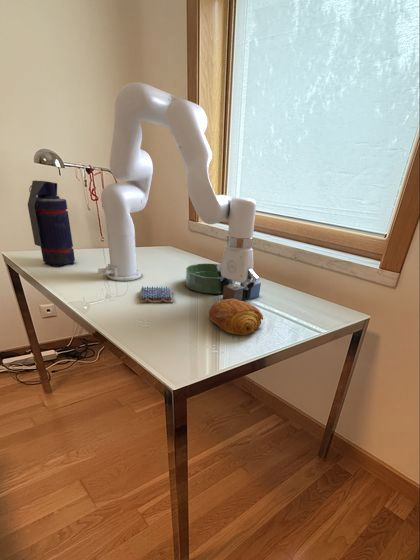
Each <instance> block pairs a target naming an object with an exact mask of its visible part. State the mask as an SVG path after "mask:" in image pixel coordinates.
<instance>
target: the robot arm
mask: <svg viewBox="0 0 420 560" xmlns="http://www.w3.org/2000/svg"><path fill="white" fill-rule="evenodd" d="M113 122H114V125H113V132H112V140H111V148H110V155H109V157H110V158H109V172H110V174H111V175H112V176H113V177H114V178H115V179H117V180H120V181H126V182H113V183H110V184H107V185H105V186H104V188H103V189H102V190H101V193H100V202H101V205H102V210H103V213H104V217H105V223H106V233H107V244H108V255H109V263H107V266H106V267H102V268H98V269H97V272H98V274H99V275H104V274H105V275H106V276H107V278H108V279H110V280H114V281H119V282H120V281H121V282H123V281H124V282H125V281H134V280H137V279H140V278H141V276H142V272H141V271H139V270H138V269H137V251H136V250H137V249H136V232H135V225H134V221H133V218H132V216H131V214H132V213H139V212H141V211H142V210H144V209H145V207H146V205H147V203H148V199H149V195H150V190H151V184H152V180H153V174H154V164H153V160H152V157H151V156H150V154H149V153H148V152H147V151H145V150H144V149H142V148H141V147H142V142H143V141H142V140H143V130H142V124H141V122H145V123H150V124H154V125H157V126H161V127H164V128H167V129H168V130H169V132H170V134H171V136H172V139H173V141H174V143H175V147H176V148H177V150H178V154H179V155H180V158H181V160H182V162H183V165H184V167H185V183H186V190H187V194H188V197H189V199H190V202H191V204H192V206H193V208H194V211H195V213H196V214H197V216H198V218H199V219H200V220H201V221H202V222H203V223H205V224H207V225H216V224H220V223H223V222H228V231H227V236H226V237H225V239H226V241H227V242H226V243H227V244H225V246H224V248H223V252H222V257H221V263H219V265H217V270H218V274H219V276H220V281H221V293H220V294H223V287H224V286H225V285H229V280H227V279H230V280H233V281H236V283H239V284H240V283H243V285H244V288H245V289H243V295H242V301H244V302H247V301H250V300H251V299H250V294H251V288H253V287H254V286H255V285H256V283H257V282H259V281H260V277H259V276H258V275H257V274H256V272H255V271H254V249H253V248H252V247H253V239H254V229H255V221H256V220H255V219H256V212H257V201H256V200H255V199H253V198H249V197H235V196H230V195H227V194H216V193H215V190H214V187H213V186H212V183H211V180H210V175H209V166H210V162H211V161H212V158H213V152H212V149H211V147H210V145H209V142H208V141H207V137H206V135H205V133H206V131H207V128H208V117H207V114H206V111H205V110H204V109H203V108H202V106H200V105H199V104H198V103H195V102H193V101H190V100H187V99H186V98H180V97H178V96H176V95H173V94H172V93H169V92H166V91H164V90H162V89H160V88H156V87H155V86H153V85H150V84H147V83H144V82H138V81H136V82H135V81H133V82H129V83H127V84H125V85H123V86H122V87H121V88H120V90H119V91H118V93H117V95H116V98H115V102H114V121H113ZM251 280H252V282H251ZM247 283H248V285H247Z"/></svg>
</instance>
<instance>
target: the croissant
mask: <svg viewBox="0 0 420 560" xmlns="http://www.w3.org/2000/svg"><path fill="white" fill-rule="evenodd" d="M208 317H209V318H210V319H211V321H212V322H213V323H214V324H216V326H217V327H219V328H220V330H223V331H224V332H226V333H228V334H232V335H238V336H247V335H248V334H251V333H254V332H255V331H256V330H258V329H259V327H260V326H261V325H262V321H263V320H264V315H263V314H262V312H261V311H260V309H258V308H257V307H256V306H254V305H253V304H251V303H249V302H247V301H240V300H236V299H233V298H230V299H225V300H222V299H221V300H219V301H217V302H215V303H214V304H212V305H211V306H210V309H209V310H208Z"/></svg>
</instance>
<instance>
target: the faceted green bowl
mask: <svg viewBox="0 0 420 560" xmlns="http://www.w3.org/2000/svg"><path fill="white" fill-rule="evenodd" d="M219 264H220V263H219ZM219 264H218V263H205V262H204V263H194V264H191V265H188V266H187V267H186V268H185V286H186V287H187V288H188V289H190V290H192V291H195V292H198V293H202V294H210V295H211V294H212V295H213V294H214V295H215V294H222V293H221V281H220V276H219V274H218V270H217V265H219ZM227 280H229V284H233V283H234V284H237V282H236V281H233V280H230V279H227Z"/></svg>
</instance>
